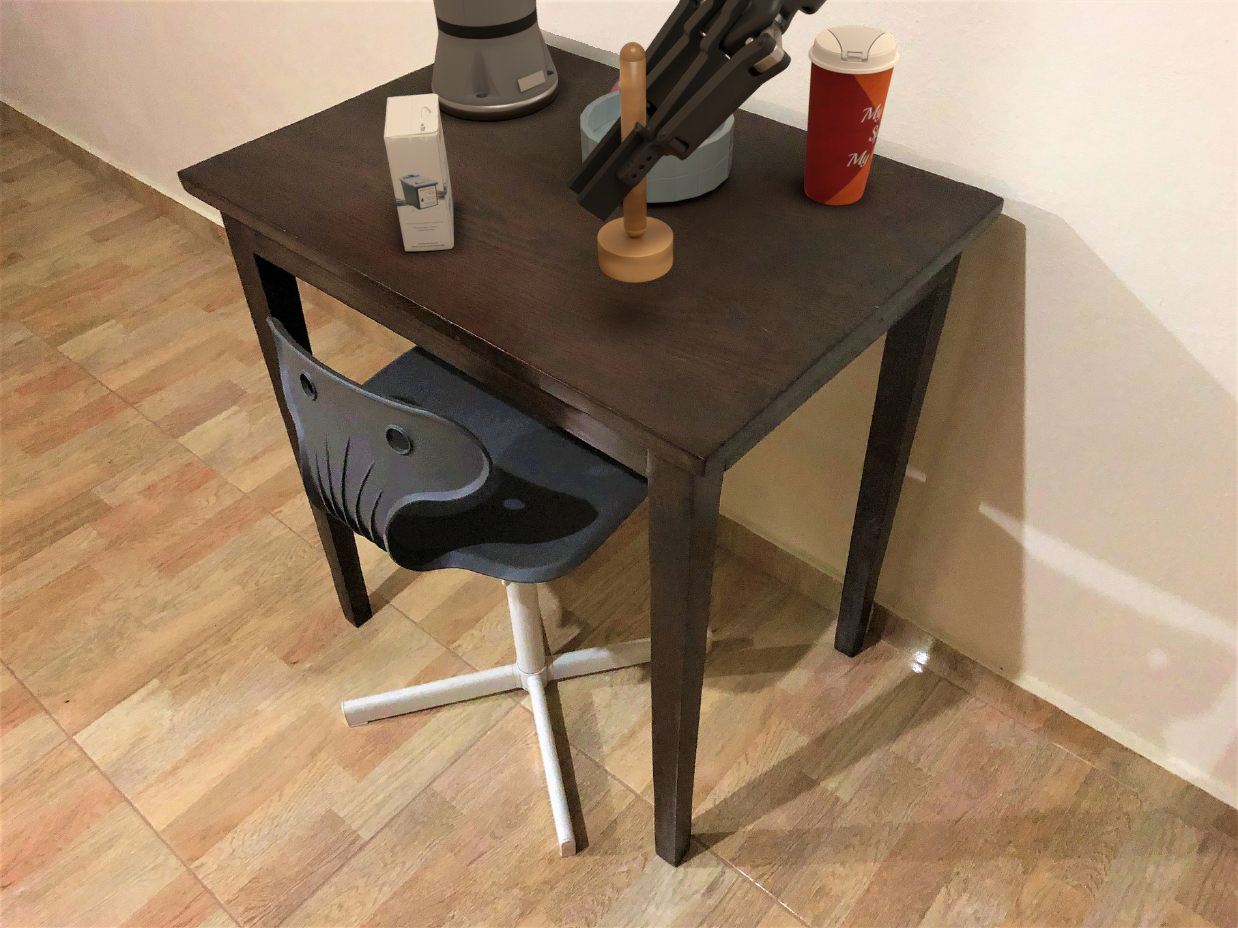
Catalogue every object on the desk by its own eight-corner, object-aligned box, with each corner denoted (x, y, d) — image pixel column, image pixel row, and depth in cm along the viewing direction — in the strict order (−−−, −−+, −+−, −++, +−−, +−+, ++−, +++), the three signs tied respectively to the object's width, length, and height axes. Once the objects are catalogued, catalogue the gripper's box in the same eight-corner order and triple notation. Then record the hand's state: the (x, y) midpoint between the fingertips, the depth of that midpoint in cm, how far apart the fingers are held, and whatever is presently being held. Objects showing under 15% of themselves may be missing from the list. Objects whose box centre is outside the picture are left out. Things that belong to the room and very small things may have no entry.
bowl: (554, 169, 100) (549, 115, 96) (664, 125, 106) (665, 72, 102) (647, 226, 91) (646, 169, 87) (761, 175, 98) (766, 119, 93)
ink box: (407, 208, 95) (384, 95, 86) (457, 204, 95) (438, 90, 87) (405, 254, 89) (379, 137, 80) (458, 249, 89) (437, 132, 81)
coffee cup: (874, 214, 91) (902, 60, 81) (790, 208, 93) (807, 55, 82) (875, 173, 97) (902, 24, 87) (795, 168, 98) (812, 20, 88)
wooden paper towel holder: (583, 259, 75) (570, 42, 63) (640, 233, 78) (638, 19, 66) (630, 292, 72) (625, 69, 60) (688, 263, 74) (695, 44, 62)
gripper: (899, 2, 59) (652, 278, 67) (795, -65, 69) (591, 182, 77) (835, -81, 54) (577, 227, 62) (733, -141, 64) (522, 132, 72)
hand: (585, 202), depth 70 cm, fingers closed on wooden paper towel holder, 2 cm apart
